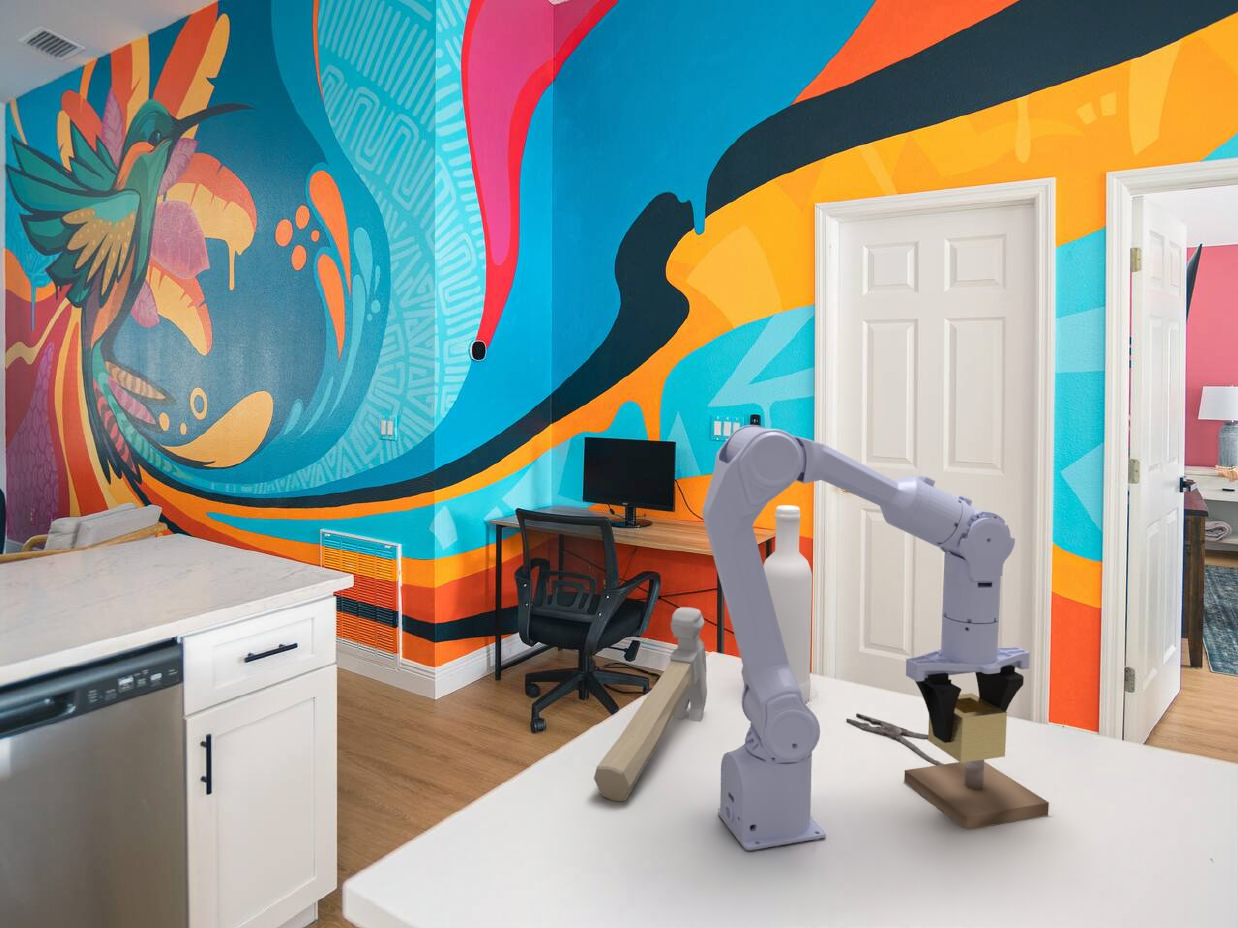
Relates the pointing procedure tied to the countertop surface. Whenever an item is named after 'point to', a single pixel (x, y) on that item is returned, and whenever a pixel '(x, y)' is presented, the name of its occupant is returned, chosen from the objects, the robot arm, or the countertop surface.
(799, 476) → the robot arm
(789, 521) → the bottle
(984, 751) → the collar
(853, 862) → the countertop surface
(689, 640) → the hammer
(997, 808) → the post board
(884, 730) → the pliers
